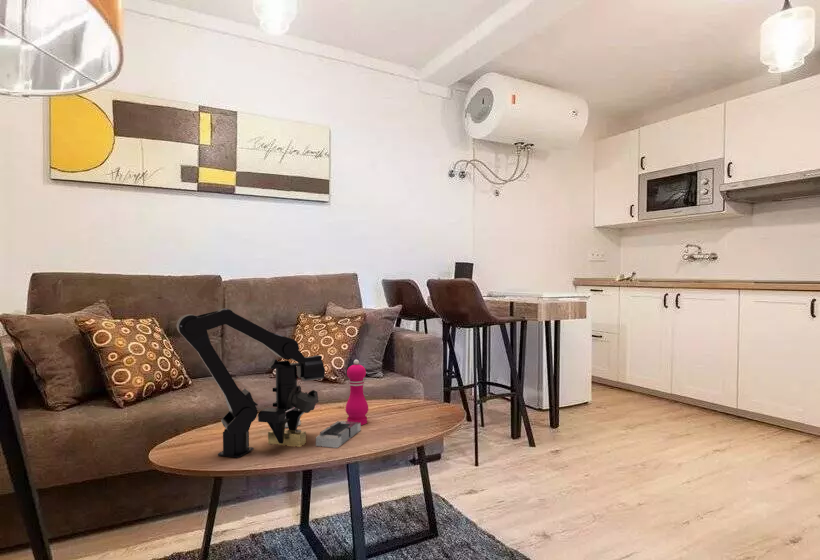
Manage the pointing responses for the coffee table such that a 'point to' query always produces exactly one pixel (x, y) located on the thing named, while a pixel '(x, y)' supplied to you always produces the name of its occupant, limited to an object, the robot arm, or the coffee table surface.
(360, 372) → the pepper mill
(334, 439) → the grey metal base
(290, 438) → the link bar
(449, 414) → the coffee table surface
